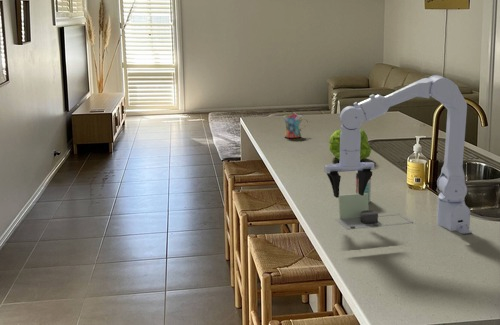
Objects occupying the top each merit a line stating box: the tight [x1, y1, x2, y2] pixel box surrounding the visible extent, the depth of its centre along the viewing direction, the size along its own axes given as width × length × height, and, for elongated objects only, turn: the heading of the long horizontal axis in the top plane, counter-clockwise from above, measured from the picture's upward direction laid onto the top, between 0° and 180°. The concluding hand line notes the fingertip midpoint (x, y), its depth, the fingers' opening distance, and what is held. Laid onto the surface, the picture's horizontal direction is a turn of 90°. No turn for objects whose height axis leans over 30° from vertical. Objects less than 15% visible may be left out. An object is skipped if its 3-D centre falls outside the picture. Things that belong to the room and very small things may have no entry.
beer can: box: [355, 171, 372, 204], centre depth 209 cm, size 5×5×12 cm
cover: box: [338, 193, 370, 219], centre depth 194 cm, size 7×9×1 cm
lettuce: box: [328, 128, 372, 161], centre depth 275 cm, size 17×24×14 cm
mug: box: [283, 114, 308, 139], centre depth 323 cm, size 12×9×11 cm
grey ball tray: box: [336, 213, 414, 230], centre depth 190 cm, size 9×20×2 cm, turn 103°
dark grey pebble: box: [360, 210, 379, 224], centre depth 190 cm, size 5×5×2 cm
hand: (348, 195), depth 186 cm, fingers open, 7 cm apart
